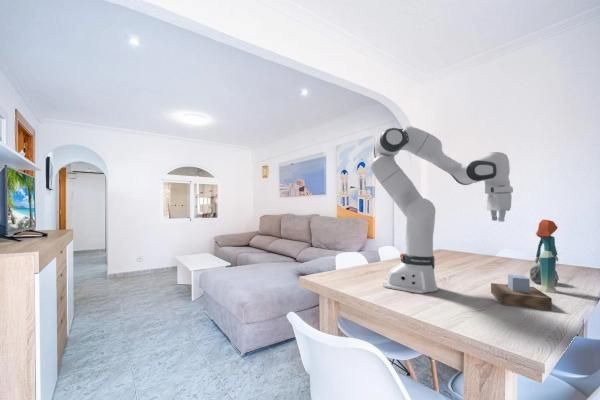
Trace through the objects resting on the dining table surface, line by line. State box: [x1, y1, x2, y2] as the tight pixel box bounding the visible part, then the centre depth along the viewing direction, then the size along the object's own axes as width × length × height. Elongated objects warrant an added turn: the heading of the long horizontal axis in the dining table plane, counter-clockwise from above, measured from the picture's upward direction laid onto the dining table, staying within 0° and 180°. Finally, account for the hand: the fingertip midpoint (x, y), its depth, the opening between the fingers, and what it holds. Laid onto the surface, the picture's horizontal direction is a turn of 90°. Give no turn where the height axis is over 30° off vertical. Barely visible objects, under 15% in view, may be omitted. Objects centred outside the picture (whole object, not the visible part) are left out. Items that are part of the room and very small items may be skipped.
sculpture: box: [534, 219, 559, 294], centre depth 113 cm, size 13×7×30 cm, turn 168°
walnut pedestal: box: [490, 282, 553, 311], centre depth 100 cm, size 14×14×4 cm
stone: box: [529, 262, 560, 285], centre depth 124 cm, size 10×10×10 cm
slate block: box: [507, 274, 531, 293], centre depth 100 cm, size 5×5×5 cm
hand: (497, 221), depth 116 cm, fingers open, 8 cm apart
